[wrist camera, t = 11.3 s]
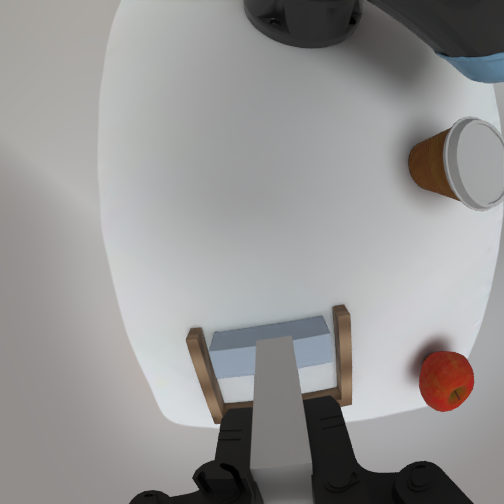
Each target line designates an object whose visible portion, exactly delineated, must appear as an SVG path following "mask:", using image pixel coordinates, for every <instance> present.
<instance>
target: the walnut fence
mask: <svg viewBox="0 0 504 504" xmlns="http://www.w3.org/2000/svg"><path fill="white" fill-rule="evenodd" d="M333 318H334V331H335V346H336V365H337V387H336V388H331V389H326V390H321V391H316V392H310V393H305V394H302V400H305V399H311V398H317V397H323V396H328V395H331V396H332V397H333V398H334V399H335V400H336V401H337V402H338V403H339V404H340V407H343V406H348V405H352V345H351V320H350V313H349V312H348V310H347V309H346V307H345V306H344V305H340V306H335V307H333ZM186 343H187V346H188V349H189V353H190V356H191V359H192V362H193V365H194V368H195V371H196V374H197V377H198V380H199V382H200V385H201V388H202V391H203V394H204V397H205V399H206V402H207V405H208V407H209V410H210V413H211V415H212V418H213V421H214V423H215V424H221V419H222V418H223V416H224V415H225V414H226V412H227V411H228V409H234V408H247V407H253V401H248V402H237V403H226V404H224V401H223V398H222V395H221V392H220V388H219V385H218V382H217V379H216V376H215V372H214V369H213V366H212V362H211V359H210V356H209V352H208V349H207V345H206V342H205V338H204V335H203V331H202V328H194V329H190V331H189V333H188V336H187V338H186Z"/></svg>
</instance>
